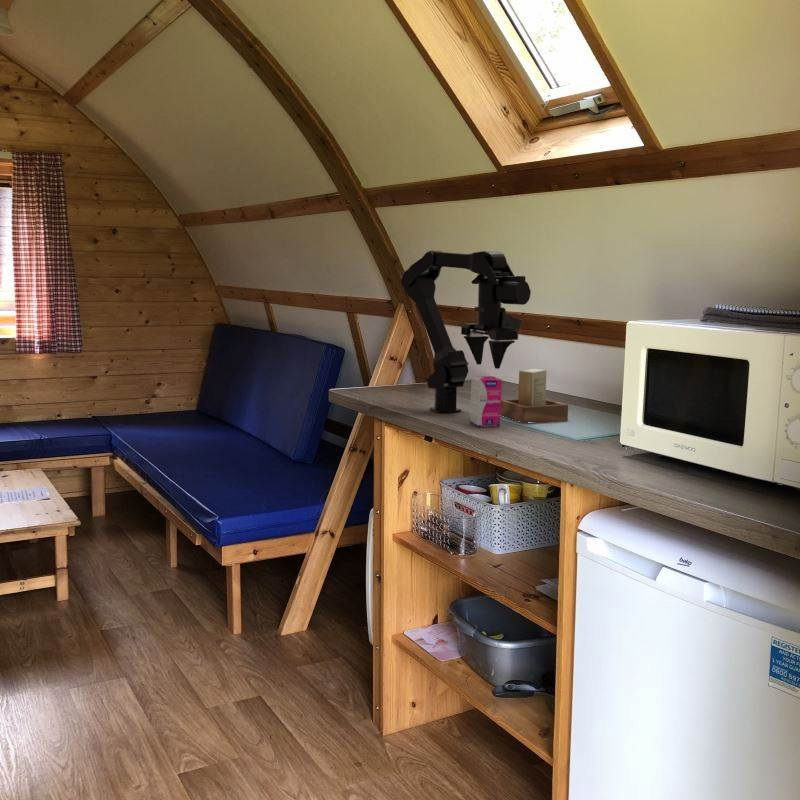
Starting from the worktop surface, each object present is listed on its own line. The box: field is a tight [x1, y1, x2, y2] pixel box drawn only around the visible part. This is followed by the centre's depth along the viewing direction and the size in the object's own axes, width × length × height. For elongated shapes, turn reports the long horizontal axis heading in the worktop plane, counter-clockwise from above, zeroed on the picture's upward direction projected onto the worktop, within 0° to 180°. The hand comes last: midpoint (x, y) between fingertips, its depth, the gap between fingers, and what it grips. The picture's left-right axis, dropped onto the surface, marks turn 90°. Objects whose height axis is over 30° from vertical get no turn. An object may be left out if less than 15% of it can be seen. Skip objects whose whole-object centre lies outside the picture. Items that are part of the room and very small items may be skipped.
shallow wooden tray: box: [500, 398, 569, 424], centre depth 222 cm, size 12×12×4 cm
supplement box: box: [469, 375, 503, 428], centre depth 211 cm, size 6×6×12 cm
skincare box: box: [517, 368, 547, 406], centre depth 221 cm, size 6×4×12 cm
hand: (487, 366), depth 220 cm, fingers open, 9 cm apart
